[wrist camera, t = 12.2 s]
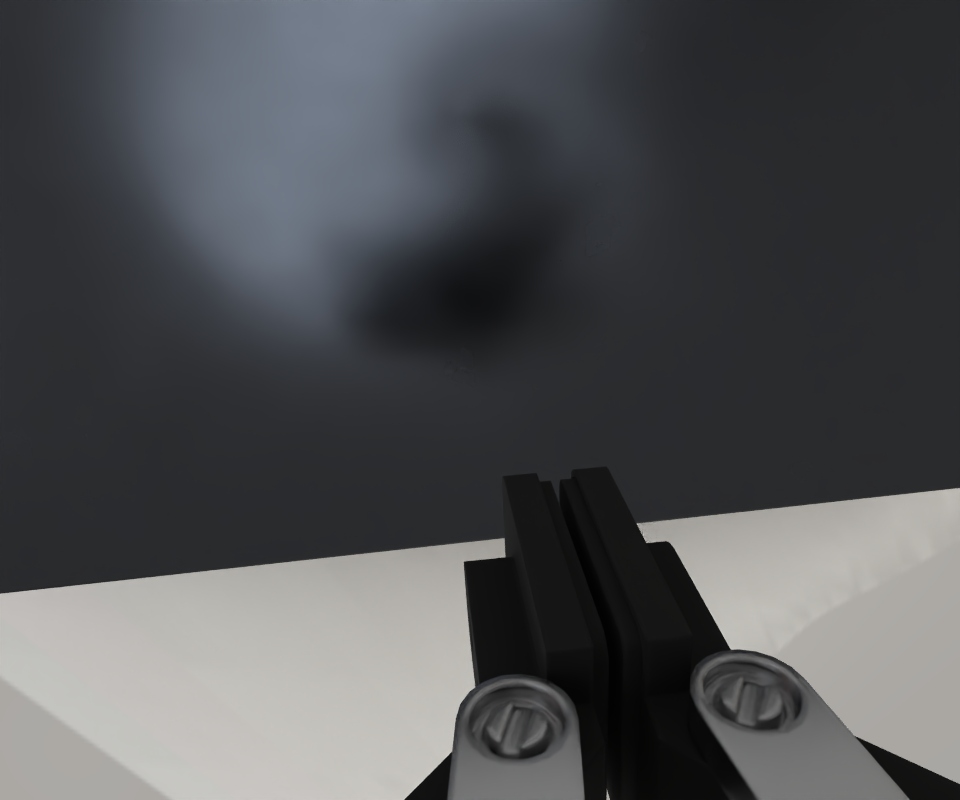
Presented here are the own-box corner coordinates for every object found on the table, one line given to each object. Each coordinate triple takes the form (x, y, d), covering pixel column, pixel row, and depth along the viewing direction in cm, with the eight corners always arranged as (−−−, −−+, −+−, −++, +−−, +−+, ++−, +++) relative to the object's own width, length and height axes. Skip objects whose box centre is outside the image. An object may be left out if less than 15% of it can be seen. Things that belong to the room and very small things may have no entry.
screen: (973, 472, 23) (996, 485, 22) (-64, 584, 21) (-83, 603, 20) (1145, -503, 16) (1189, -539, 15) (-453, -501, 13) (-511, -544, 12)
